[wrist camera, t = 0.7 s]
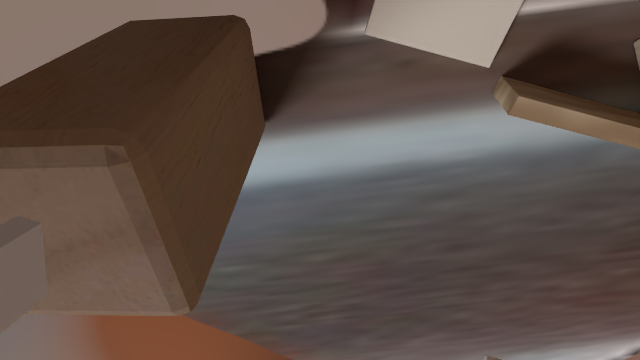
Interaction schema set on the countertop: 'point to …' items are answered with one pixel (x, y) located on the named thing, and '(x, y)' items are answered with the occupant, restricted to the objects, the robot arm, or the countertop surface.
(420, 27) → the trivet
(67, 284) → the block
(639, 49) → the condiment
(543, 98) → the open wooden frame
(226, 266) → the countertop surface
